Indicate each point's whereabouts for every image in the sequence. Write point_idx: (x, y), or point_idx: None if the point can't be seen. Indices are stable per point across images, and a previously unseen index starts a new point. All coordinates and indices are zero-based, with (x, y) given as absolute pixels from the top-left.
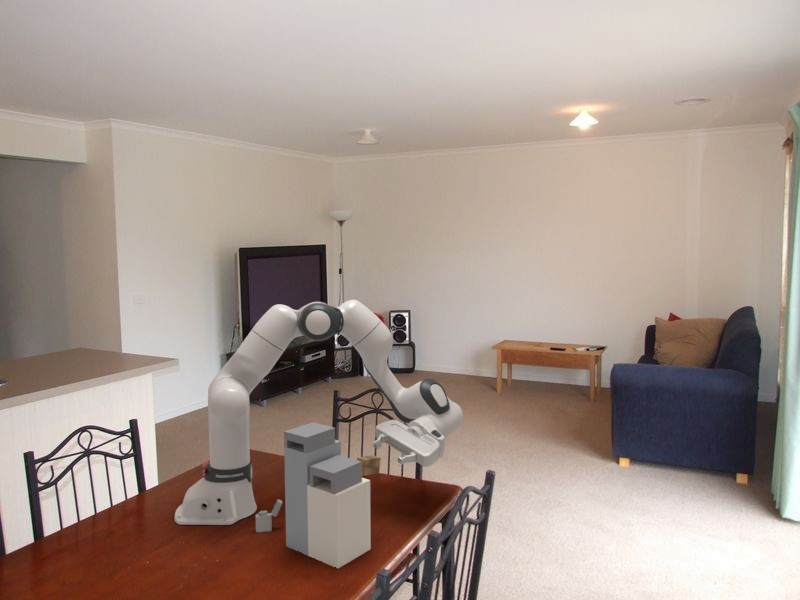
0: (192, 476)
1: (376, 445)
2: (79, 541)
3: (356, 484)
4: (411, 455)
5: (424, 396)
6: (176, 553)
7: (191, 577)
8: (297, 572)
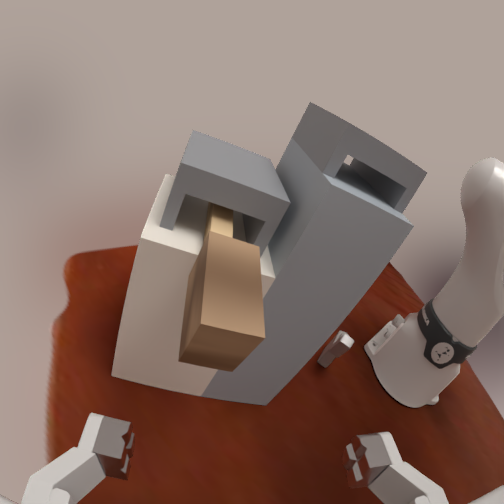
0: (490, 406)
1: (355, 437)
2: (387, 276)
3: (161, 211)
4: (46, 472)
5: None
6: None
7: None
8: None
